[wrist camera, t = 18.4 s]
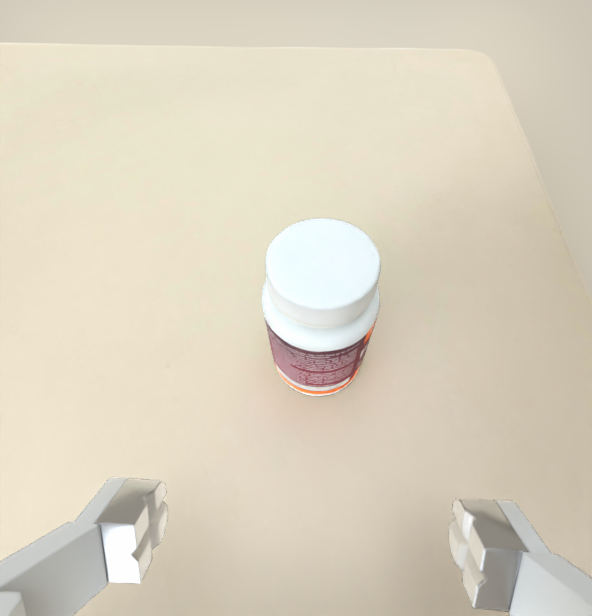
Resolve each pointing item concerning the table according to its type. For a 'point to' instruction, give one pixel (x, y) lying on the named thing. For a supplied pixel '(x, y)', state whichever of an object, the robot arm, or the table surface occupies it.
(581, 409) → the table surface
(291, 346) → the pill bottle
